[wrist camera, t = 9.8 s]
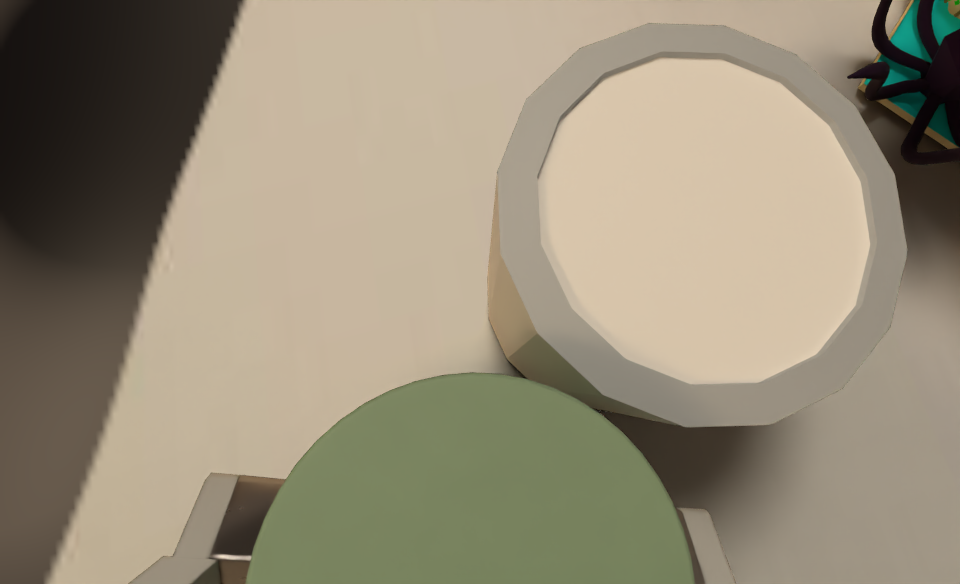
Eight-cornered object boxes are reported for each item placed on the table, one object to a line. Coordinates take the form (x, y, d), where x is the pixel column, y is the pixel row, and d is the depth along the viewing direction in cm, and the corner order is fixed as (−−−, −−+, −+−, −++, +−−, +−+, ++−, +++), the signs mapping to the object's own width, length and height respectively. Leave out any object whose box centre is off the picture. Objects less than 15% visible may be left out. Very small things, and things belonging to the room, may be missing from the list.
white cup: (485, 150, 18) (530, -21, 11) (730, 199, 18) (917, 61, 12) (440, 406, 16) (461, 387, 10) (708, 452, 17) (908, 465, 10)
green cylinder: (601, 469, 17) (771, 501, 9) (493, 696, 15) (579, 971, 7) (400, 357, 17) (391, 290, 9) (275, 574, 15) (135, 720, 8)
